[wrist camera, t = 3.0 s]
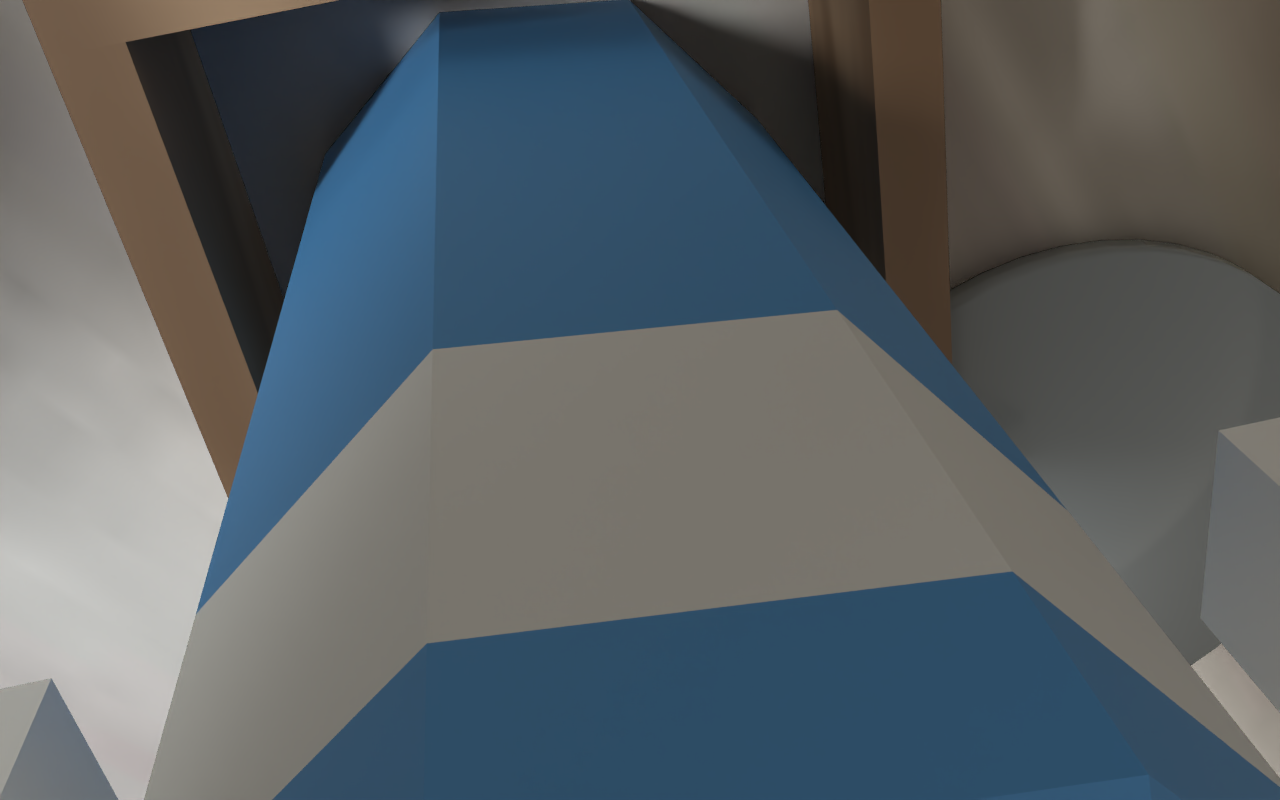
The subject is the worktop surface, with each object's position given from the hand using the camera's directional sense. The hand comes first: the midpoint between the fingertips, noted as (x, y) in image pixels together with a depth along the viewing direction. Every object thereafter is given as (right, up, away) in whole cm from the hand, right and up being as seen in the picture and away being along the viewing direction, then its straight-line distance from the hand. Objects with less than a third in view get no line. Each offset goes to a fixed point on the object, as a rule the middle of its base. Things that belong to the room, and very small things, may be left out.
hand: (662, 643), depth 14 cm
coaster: (+10, 0, +17) cm, 20 cm away
